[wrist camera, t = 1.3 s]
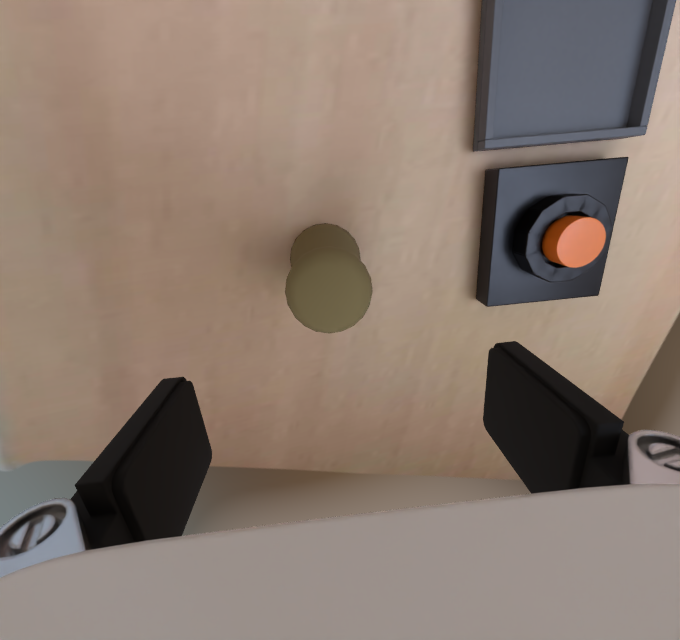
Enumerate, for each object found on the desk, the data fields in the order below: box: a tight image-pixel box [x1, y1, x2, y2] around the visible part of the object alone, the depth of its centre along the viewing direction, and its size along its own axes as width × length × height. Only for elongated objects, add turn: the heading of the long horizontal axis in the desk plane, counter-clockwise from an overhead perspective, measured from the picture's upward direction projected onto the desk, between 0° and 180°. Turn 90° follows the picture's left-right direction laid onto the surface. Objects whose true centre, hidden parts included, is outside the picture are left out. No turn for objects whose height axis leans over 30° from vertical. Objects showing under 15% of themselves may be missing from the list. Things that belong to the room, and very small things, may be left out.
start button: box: [542, 215, 606, 268], centre depth 25 cm, size 4×4×2 cm
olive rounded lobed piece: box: [285, 223, 372, 333], centre depth 24 cm, size 6×6×11 cm
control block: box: [476, 157, 628, 307], centre depth 27 cm, size 11×10×4 cm
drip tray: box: [473, 0, 676, 151], centre depth 23 cm, size 15×12×2 cm
